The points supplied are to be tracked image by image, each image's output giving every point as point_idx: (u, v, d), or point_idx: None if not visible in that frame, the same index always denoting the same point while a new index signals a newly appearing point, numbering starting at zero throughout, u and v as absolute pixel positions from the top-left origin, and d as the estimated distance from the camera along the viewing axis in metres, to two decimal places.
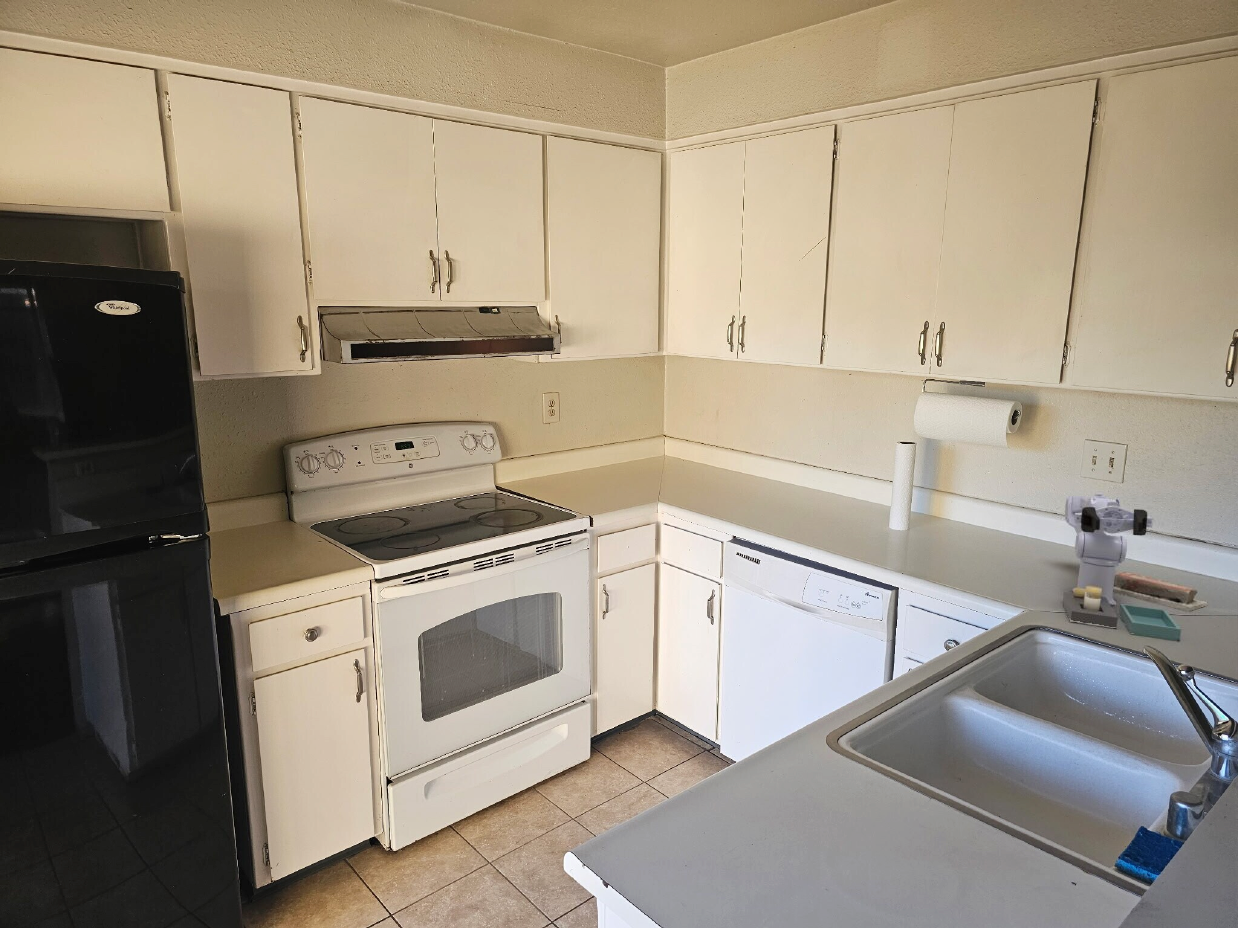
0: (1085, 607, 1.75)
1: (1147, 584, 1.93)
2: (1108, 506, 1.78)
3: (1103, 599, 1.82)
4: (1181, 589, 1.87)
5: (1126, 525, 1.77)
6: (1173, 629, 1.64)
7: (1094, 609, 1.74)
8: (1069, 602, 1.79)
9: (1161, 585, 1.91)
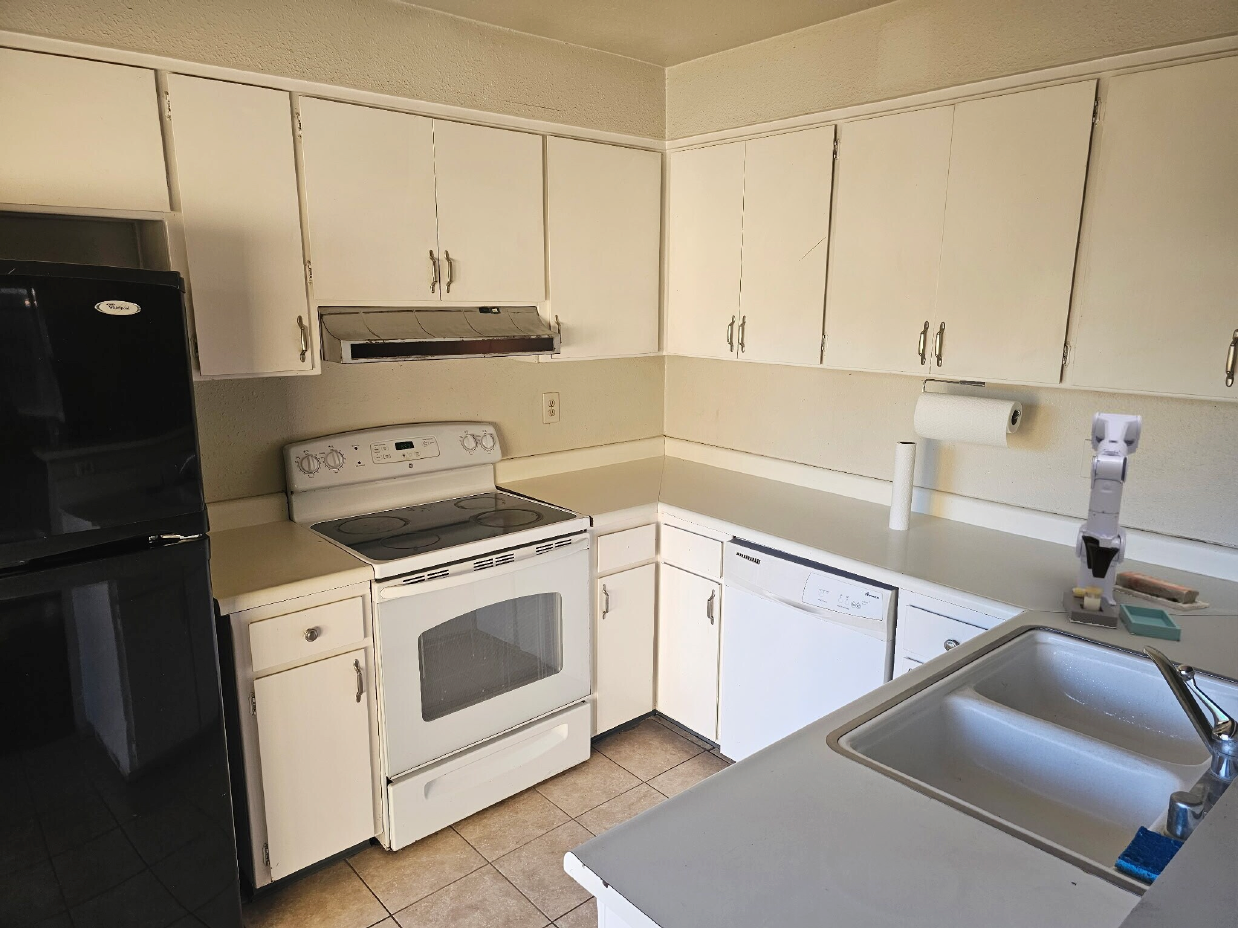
0: (1085, 607, 1.75)
1: (1147, 583, 1.94)
2: None
3: (1103, 599, 1.82)
4: (1178, 589, 1.88)
5: None
6: (1173, 629, 1.64)
7: (1094, 609, 1.74)
8: (1069, 602, 1.79)
9: (1160, 584, 1.91)
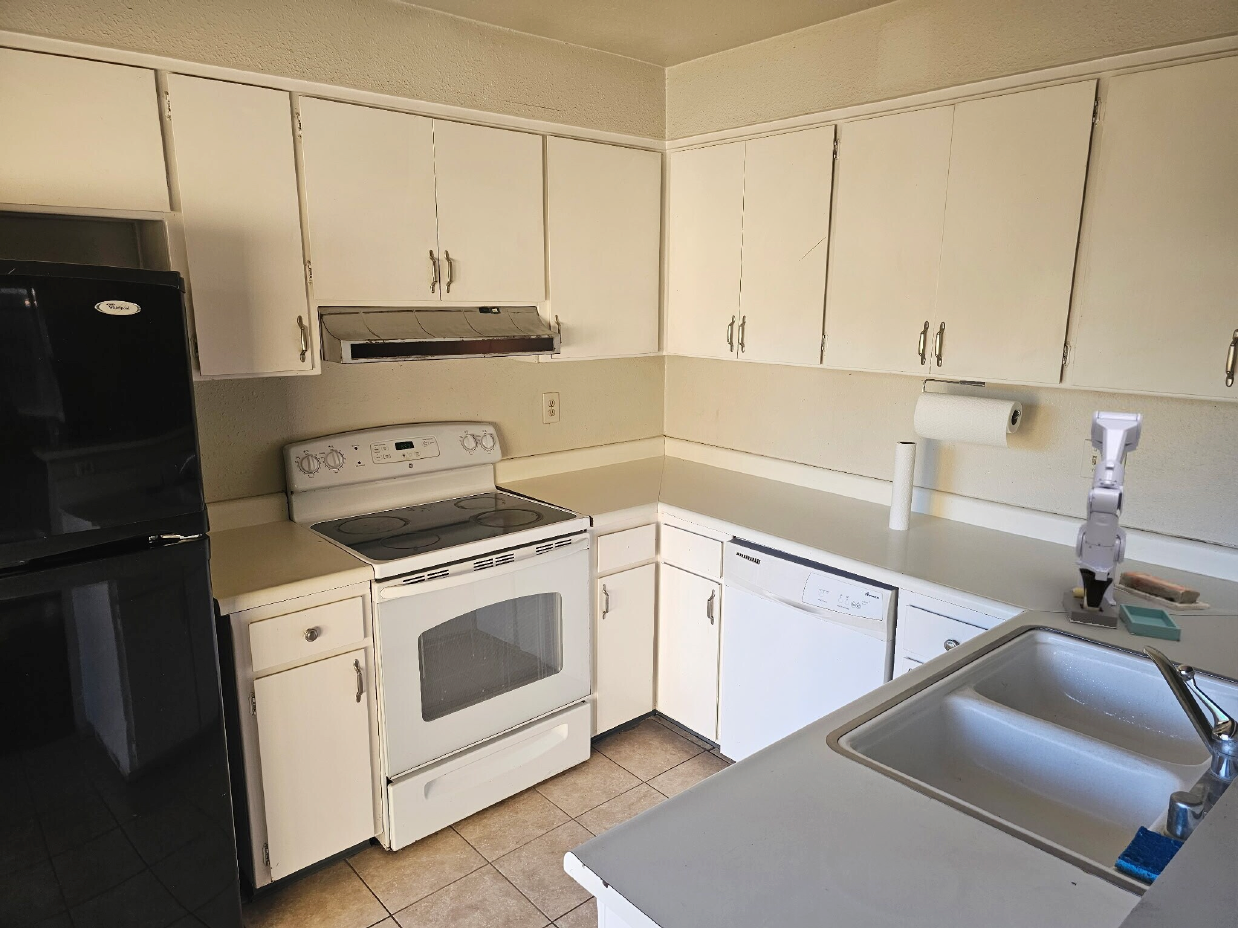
0: (1085, 607, 1.75)
1: (1148, 583, 1.94)
2: None
3: (1103, 599, 1.82)
4: (1176, 588, 1.88)
5: None
6: (1173, 629, 1.64)
7: (1094, 609, 1.74)
8: (1069, 602, 1.79)
9: (1159, 584, 1.92)
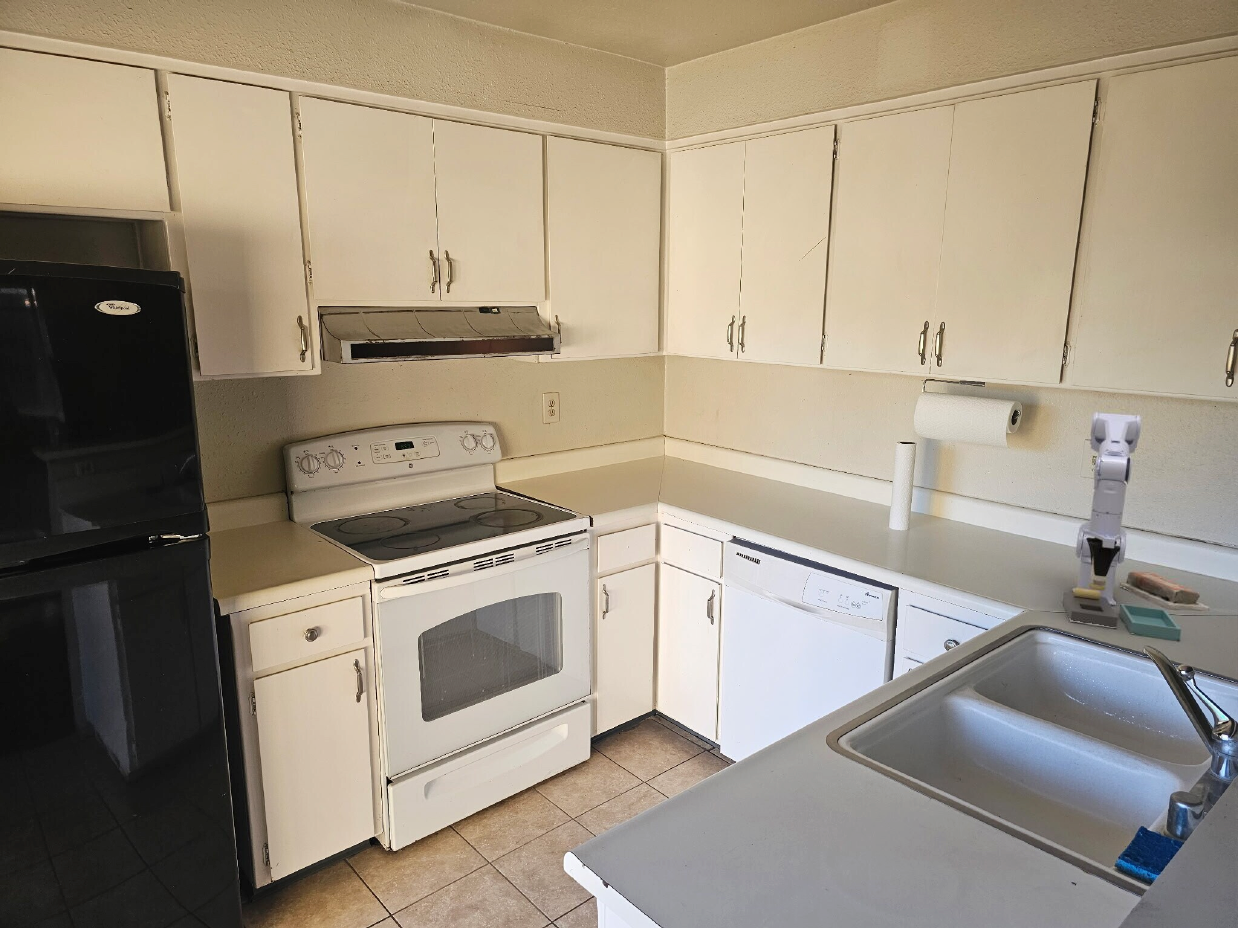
0: (1092, 576, 1.74)
1: (1149, 582, 1.95)
2: None
3: (1103, 599, 1.82)
4: (1171, 588, 1.88)
5: None
6: (1173, 629, 1.64)
7: (1101, 578, 1.73)
8: (1069, 602, 1.79)
9: (1158, 583, 1.92)
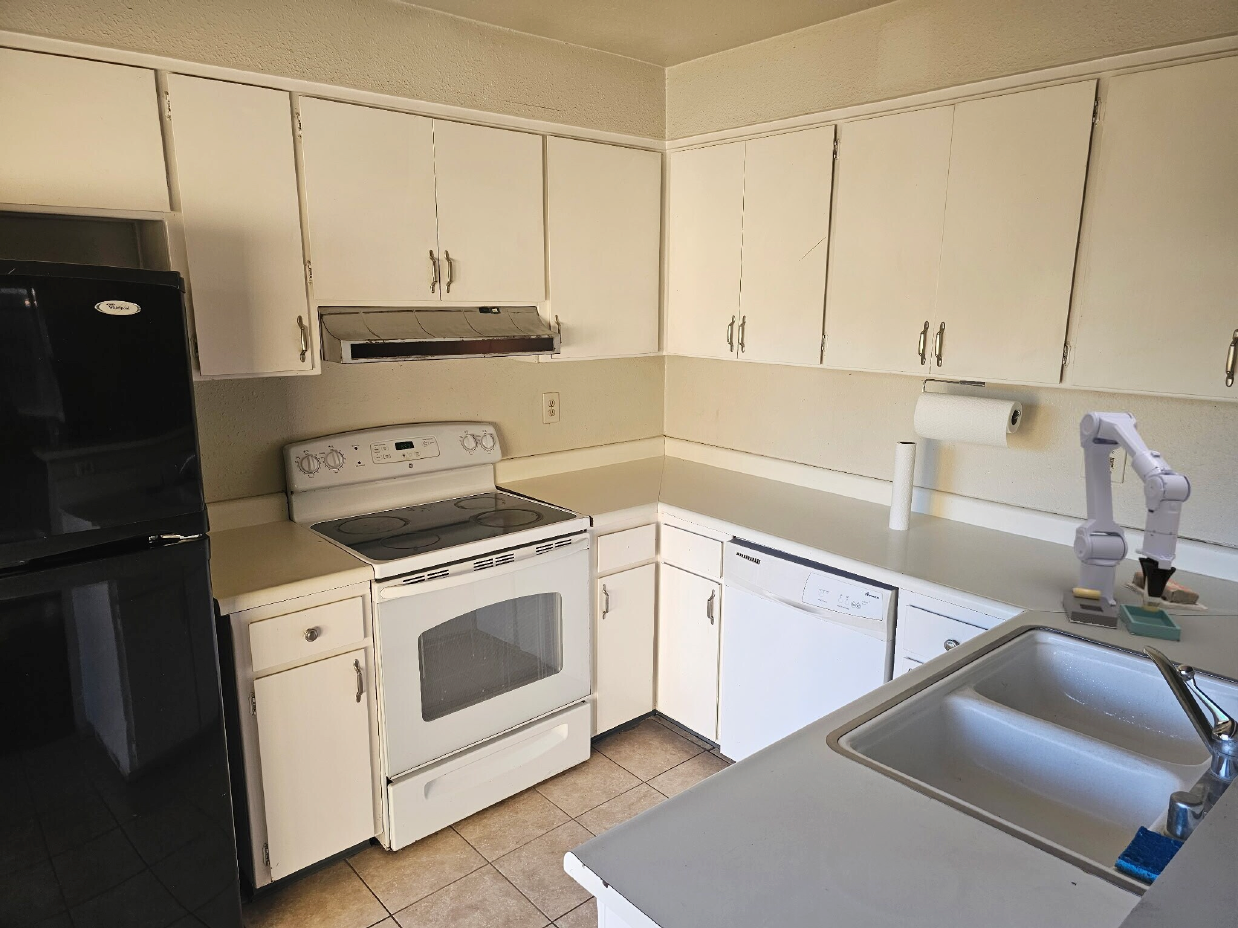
0: (1146, 597, 1.71)
1: None
2: None
3: (1103, 599, 1.82)
4: (1169, 587, 1.88)
5: None
6: (1173, 629, 1.64)
7: (1155, 599, 1.69)
8: (1069, 602, 1.79)
9: None
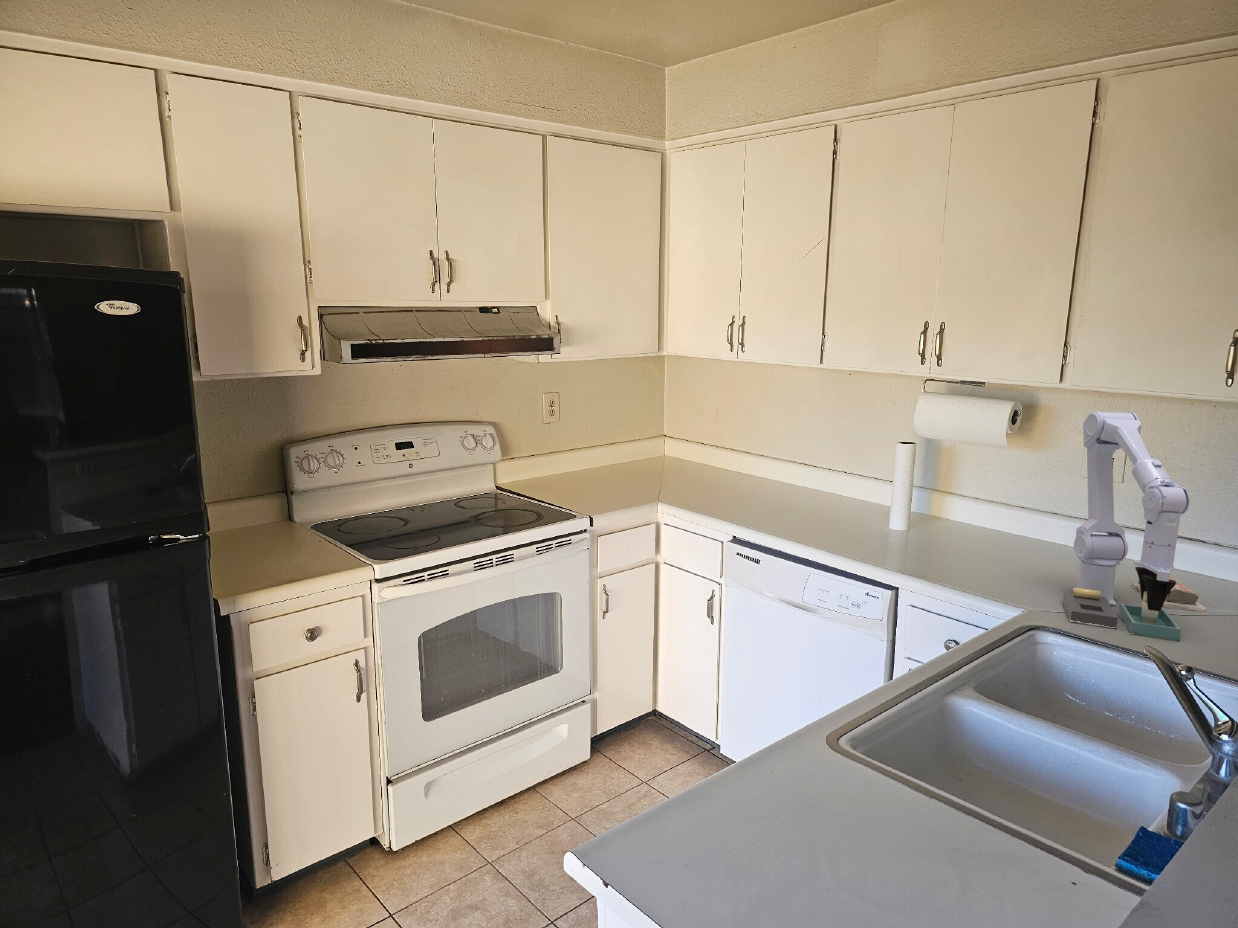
0: (1143, 613, 1.71)
1: None
2: None
3: (1103, 599, 1.82)
4: None
5: None
6: (1173, 629, 1.64)
7: (1153, 615, 1.70)
8: (1069, 602, 1.79)
9: None
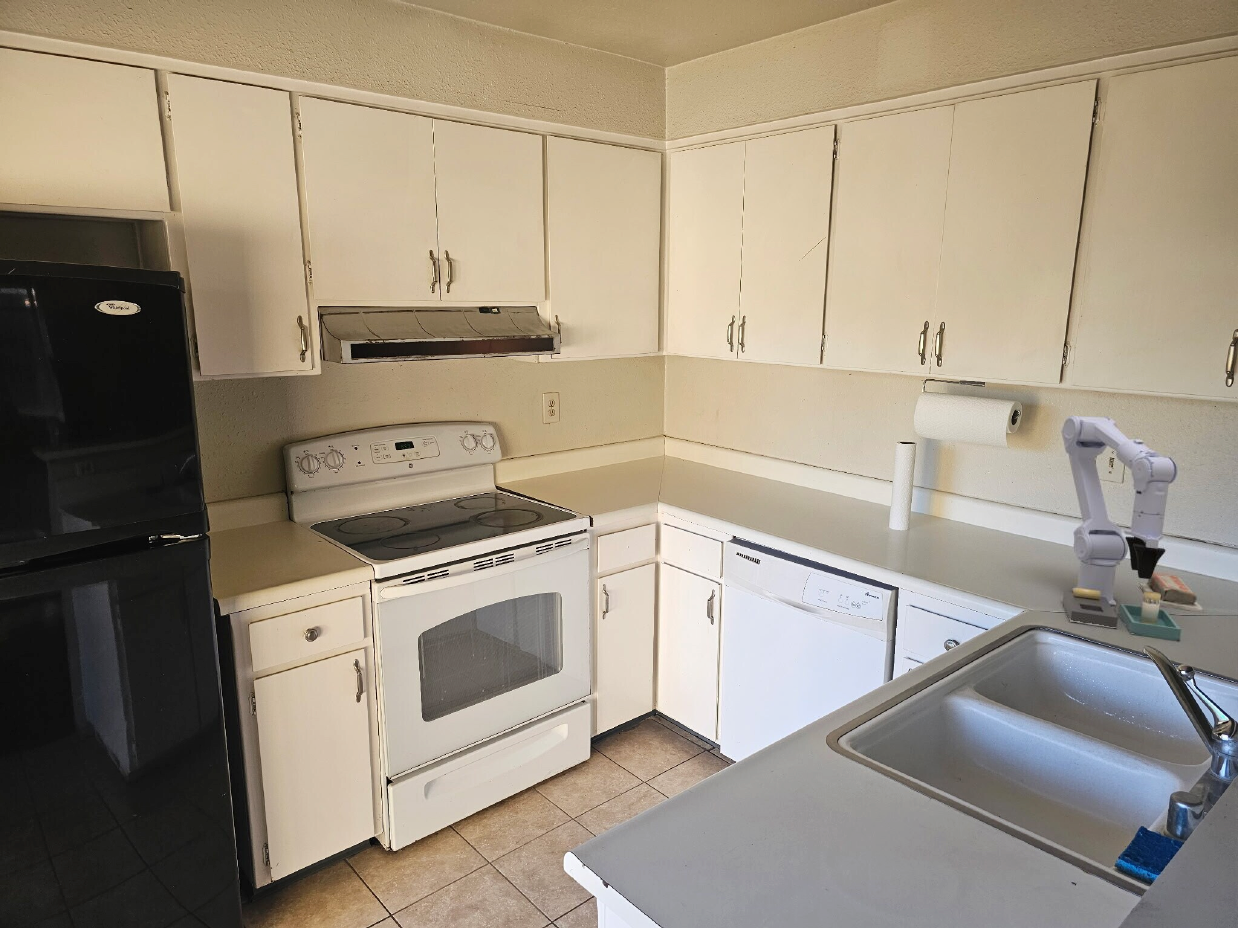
0: (1143, 613, 1.71)
1: (1156, 582, 1.96)
2: None
3: (1103, 599, 1.82)
4: (1164, 586, 1.89)
5: None
6: (1173, 629, 1.64)
7: (1153, 615, 1.70)
8: (1069, 602, 1.79)
9: (1160, 582, 1.93)
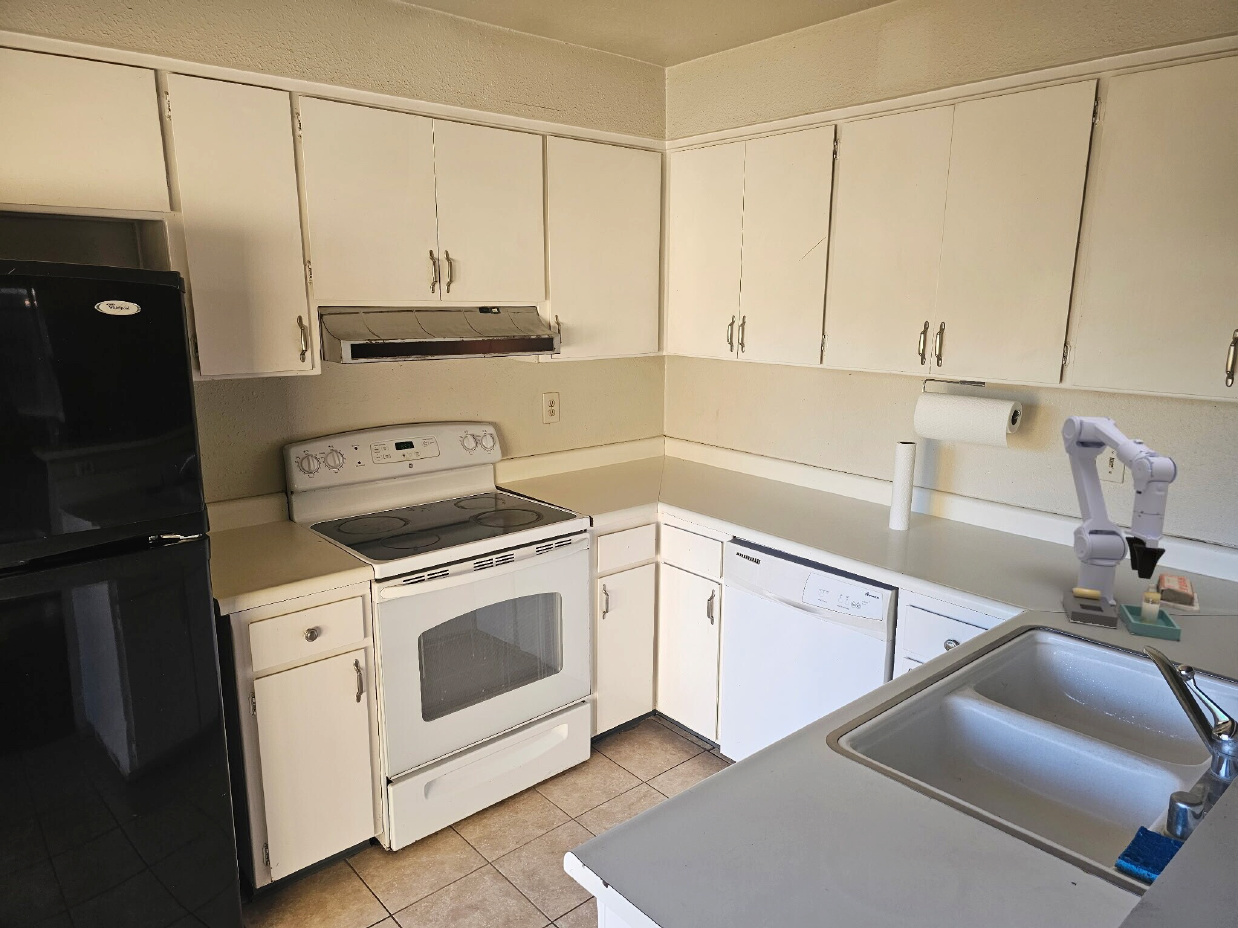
0: (1143, 613, 1.71)
1: (1159, 582, 1.96)
2: None
3: (1103, 599, 1.82)
4: (1162, 586, 1.90)
5: None
6: (1173, 629, 1.64)
7: (1153, 615, 1.70)
8: (1069, 602, 1.79)
9: (1161, 582, 1.93)
